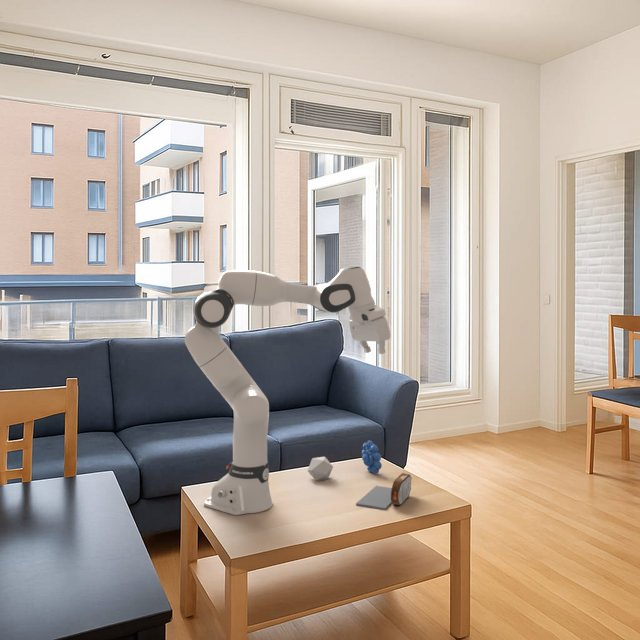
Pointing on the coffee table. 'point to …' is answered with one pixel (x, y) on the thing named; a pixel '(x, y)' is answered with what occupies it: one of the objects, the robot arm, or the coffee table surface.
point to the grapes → (371, 457)
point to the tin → (401, 489)
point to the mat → (377, 498)
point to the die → (320, 468)
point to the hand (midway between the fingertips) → (375, 352)
